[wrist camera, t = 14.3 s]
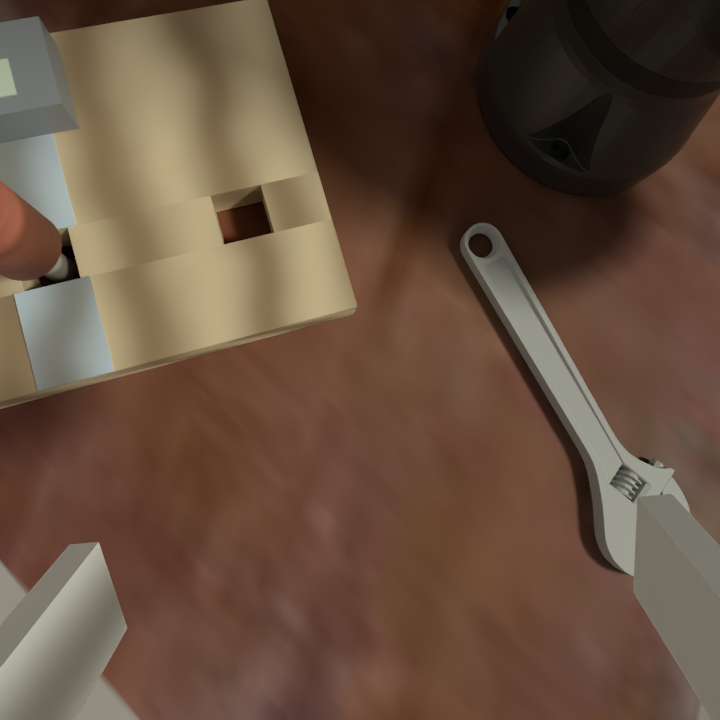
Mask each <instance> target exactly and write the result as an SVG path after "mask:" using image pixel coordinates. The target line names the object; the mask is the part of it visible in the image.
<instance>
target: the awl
mask: <svg viewBox="0 0 720 720" xmlns="http://www.w3.org/2000/svg"><path fill="white" fill-rule="evenodd" d="M61 250H62V241H61V237H60V234H59V232H58V230H57V228H56V227H55V225H54V224H53V223H52V222H51V221H50V220H48V219H47V218H46V217H45V216H44V215H42V214H41V213H40V212H39V211H37V210H36V209H35V208H34V207H32V206H31V205H30V204H29V203H27V202H26V201H25V200H24V199H23V198H21V197H20V196H19V195H18V194H16V193H15V192H14V191H13V190H11V189H10V188H9V187H8V186H6V185H5V184H4V183H3V182H2V181H0V275H2V276H4V277H7V278H9V279H12V280H17V281H28V280H34V279H37V278H39V277H42V276H45V277H47V278H49V279H50V280H52V281H54V282H56V283H62V282H66V281H70V280H74V279H78V278H79V270H78V266H77V264H76V263H75V262H73V261H72V260H71V259H69V258H68V257H66V256H65V255H64V254H62V253H61Z"/></svg>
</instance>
